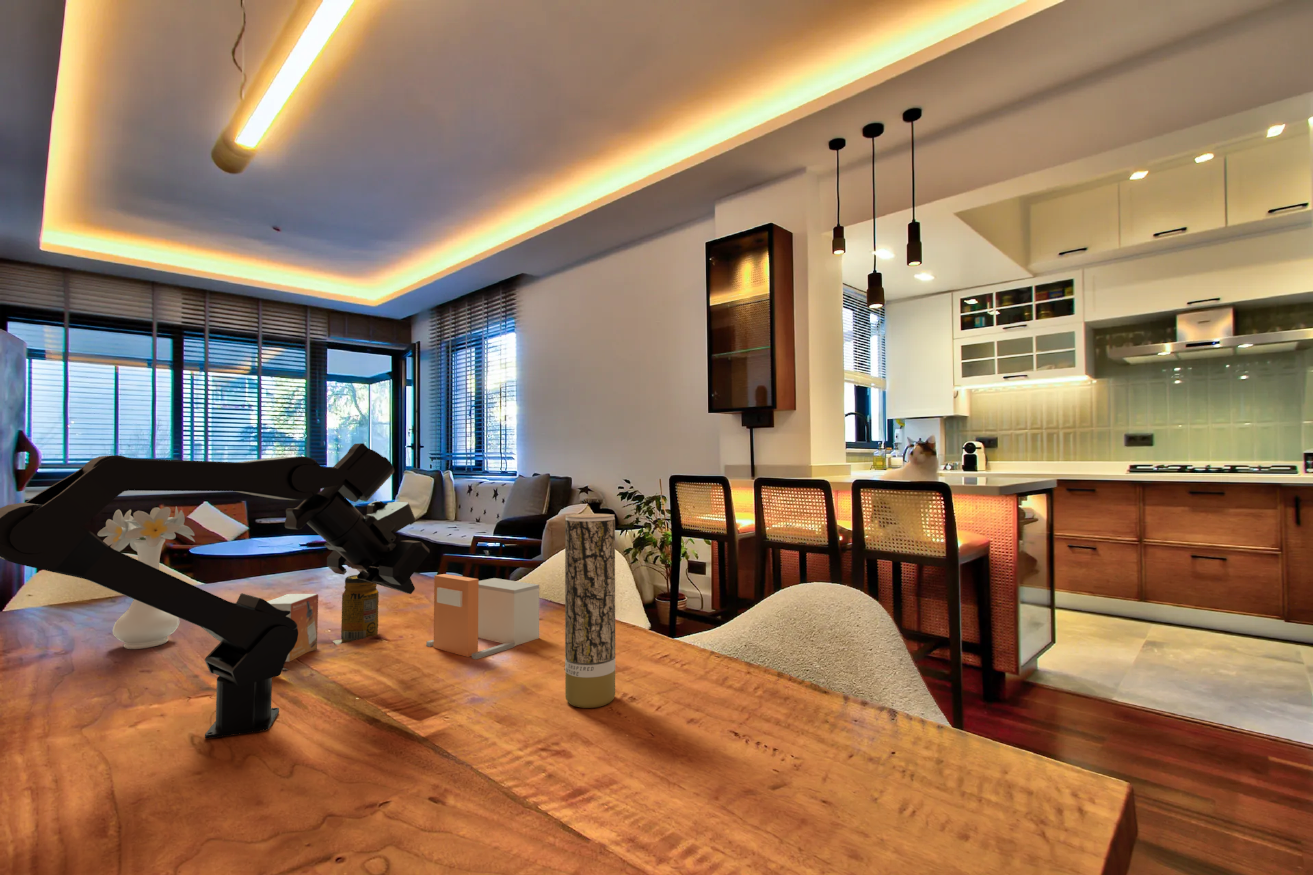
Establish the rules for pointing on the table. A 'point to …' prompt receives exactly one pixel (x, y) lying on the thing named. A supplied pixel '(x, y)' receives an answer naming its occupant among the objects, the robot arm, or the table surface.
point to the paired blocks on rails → (506, 614)
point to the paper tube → (589, 609)
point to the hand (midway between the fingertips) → (411, 591)
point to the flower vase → (144, 536)
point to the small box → (301, 620)
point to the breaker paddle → (456, 614)
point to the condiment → (358, 610)
